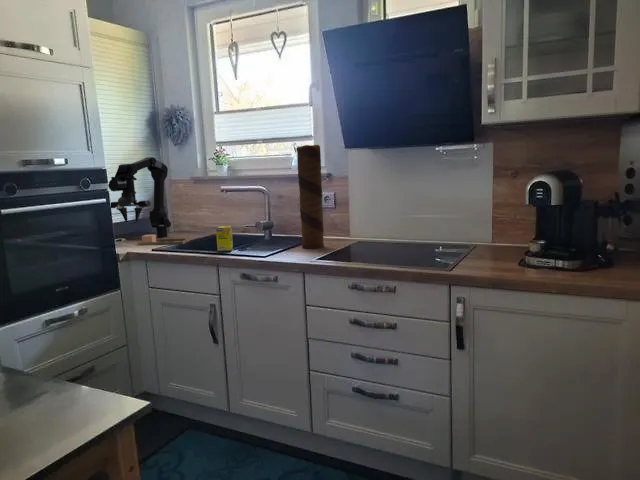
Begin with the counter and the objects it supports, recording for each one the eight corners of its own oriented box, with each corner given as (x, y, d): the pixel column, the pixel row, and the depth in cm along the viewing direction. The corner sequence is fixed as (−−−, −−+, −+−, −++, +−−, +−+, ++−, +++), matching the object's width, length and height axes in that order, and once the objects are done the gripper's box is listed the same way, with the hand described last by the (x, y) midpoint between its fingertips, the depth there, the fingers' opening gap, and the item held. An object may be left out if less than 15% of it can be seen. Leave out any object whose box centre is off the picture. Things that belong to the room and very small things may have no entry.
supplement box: (230, 252, 228) (229, 227, 226) (217, 252, 228) (215, 227, 226) (233, 249, 234) (231, 225, 232) (220, 250, 234) (218, 226, 232)
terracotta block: (146, 242, 259) (145, 234, 258) (156, 242, 259) (155, 234, 258) (142, 244, 254) (141, 236, 253) (152, 244, 254) (151, 236, 253)
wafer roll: (312, 249, 225) (308, 144, 218) (296, 247, 233) (292, 145, 226) (329, 246, 232) (326, 144, 225) (314, 244, 240) (310, 145, 233)
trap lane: (147, 243, 263) (147, 239, 262) (190, 242, 261) (189, 238, 261) (137, 247, 251) (137, 243, 250) (182, 246, 249) (182, 241, 249)
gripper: (102, 191, 245) (105, 224, 248) (140, 190, 244) (143, 223, 247) (112, 190, 256) (115, 221, 259) (149, 188, 255) (152, 220, 258)
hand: (131, 221), depth 255 cm, fingers open, 5 cm apart
